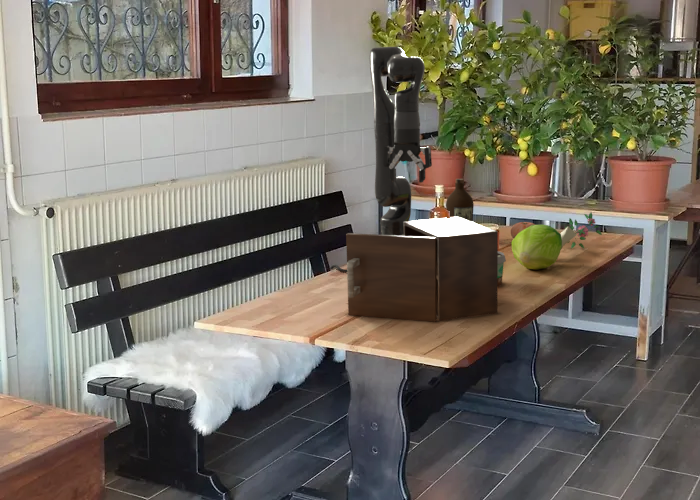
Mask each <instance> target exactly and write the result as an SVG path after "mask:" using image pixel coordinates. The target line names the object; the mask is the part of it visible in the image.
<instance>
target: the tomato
mask: <svg viewBox="0 0 700 500" xmlns="http://www.w3.org/2000/svg"><path fill="white" fill-rule="evenodd" d="M532 225H536V224H535V223H533V222H529V221H521V222H516V223H515V224H513V225H512V226H511V228H510V235H511V237H512V240H513V239H514V238H515V237H516V235H517V234H518V233H519V232H521V231H523V230H524V229H526V228H528V227H530V226H532Z"/></svg>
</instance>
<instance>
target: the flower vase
mask: <svg viewBox="0 0 700 500" xmlns="http://www.w3.org/2000/svg"><path fill="white" fill-rule="evenodd" d="M583 215H584V218H586V220H587V225H580V226H578V225H579V223H578V221H577V219H574V221H573V219H572V218H571V217H569V219H568V223H569V225H570V226H564V229H563V230H562V231H561V232H559V233H560V234H561V238H562V248H563V247H565V246H566V245H567V244H569V243H570V242H571V240H572V239H575V240H578V239H579V240H580V241H586V239H587V238H586V236H589V229H590V227H589V226H591V227H592V226H594V227H593V228H592V230H594V229H597V228H600V226H599V225H596V219H595V218H594V217H593V213H592V211H590V213H589V214H586V213H584V214H583ZM573 224H574V226H573ZM577 226H578V227H577ZM575 227H577V229H576V231H575ZM588 228H589V229H588ZM595 232H596V234H598V235H599V236H602V235H603V234H602V232H601V231H600V230H599V229H597V230H595ZM576 236H577V237H579V238H577V237H576ZM577 243H578V246H579V247H580V248H582V249H585V246H584V244H583V243H582V242H580V243H579V242H577ZM577 243H576V242H575V241H572V243H571V246H570V249H571V250H572V249H573V248H575V246H576V245H577Z"/></svg>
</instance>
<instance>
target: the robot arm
mask: <svg viewBox="0 0 700 500" xmlns="http://www.w3.org/2000/svg"><path fill="white" fill-rule="evenodd" d="M425 68H426V67H425V63H424V61H423V59H421V57H418V56H410V57H409V56H406V54H405V51H404V50H403V49H402V48H401V47H399V46H380V47H378V46H377V47H372V48H371V49H370V52H369V71H370V82H371V89H372V98H373V99H372V102H373V103H372V104H373V130H374V131H373V133H374V143H375V144H374V145H375V174H374V178H375V179H374V194H375V199H376V201H377V203H378V205H380V206H381V207H383V208H388V210H387V212H386V213H384V214H383V215H382V216H381V218H380V235H397V236H404V223H403V222H405V221H410V218H411V215H412V214H411V213H412V188H411V184H410V182H409V181H408V179H407V178H405V177H403V176H397V168H396V167H397V165H398V164H399V163H400V162H408V163H409V162H410V163H411V162H414V164H415V165H417V167H418V168H419V169H418V182H419V183H424V181H425V180H426V170H427V169H429V168H431V167H432V166H433V164H432V163H433V161H432V148H431V146H426V147H425V146H424V147H422V146H421V118H420V117H421V116H420V105H419V104H420V102H419V101H420V90H421V84H422V81H423V80H424V79H423V78H424V75H425ZM382 77H388V78H389V80H390V81H391V82H394V83H410V86H409V87H407V88H406V89H401V90H398V91H396V92H395V93H394V102H393V100H392V99H391V98H390V96H389V94H388V92H387V91H386V88H385V87H384V83H383V80H382ZM421 153H422V154H423V155H424V161H423V159H422V158H421V156H420V154H421ZM424 162H425V163H424ZM334 268H335V269H336V270H338V271H339V272H342V273H347V269H344V268H341V267H340V266H339V265H337V264H333V265H331V266H330V267H329V269H330V270H333V269H334Z"/></svg>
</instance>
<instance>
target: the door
mask: <svg viewBox="0 0 700 500" xmlns="http://www.w3.org/2000/svg"><path fill="white" fill-rule="evenodd" d="M345 241H346V242H345V245H346V270H347V272H346V275H347V276H346V277H347V278H346V279H347V308H348V309H347V310H348V311H347V313H348V316H359V317H370V318H371V317H372V318H384V319H395V320H396V319H397V320H398V319H399V320H409V321H422V322H433V323H434V322H435V323H436V322H437V321H438V320H437V278H436V237H419V236H397V235H381V234H375V233H374V234H373V233H353V232H347V233H346V234H345Z"/></svg>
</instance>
